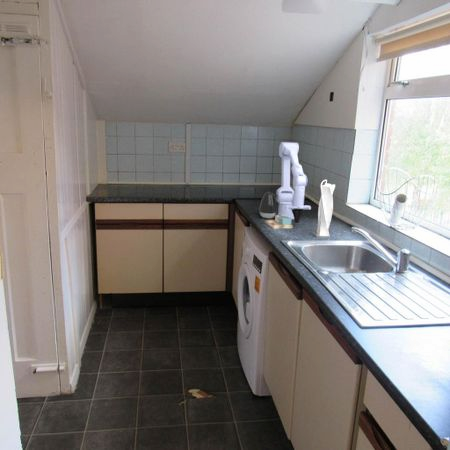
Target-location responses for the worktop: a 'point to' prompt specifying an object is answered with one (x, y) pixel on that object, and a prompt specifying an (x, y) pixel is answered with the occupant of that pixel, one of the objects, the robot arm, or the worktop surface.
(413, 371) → the worktop surface
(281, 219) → the stub
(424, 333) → the worktop surface
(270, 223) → the board
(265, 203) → the dark egg-shaped dome
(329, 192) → the skyscraper
